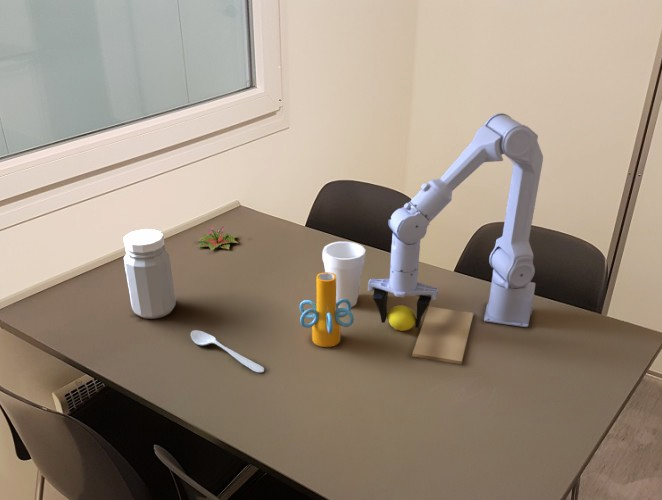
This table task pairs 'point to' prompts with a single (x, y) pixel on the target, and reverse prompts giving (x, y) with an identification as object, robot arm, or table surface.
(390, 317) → the lemon
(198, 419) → the table surface
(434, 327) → the birch board
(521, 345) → the table surface
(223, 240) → the lily flower
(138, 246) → the jar
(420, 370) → the table surface
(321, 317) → the cylinder
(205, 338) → the spoon
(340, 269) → the foam cup
